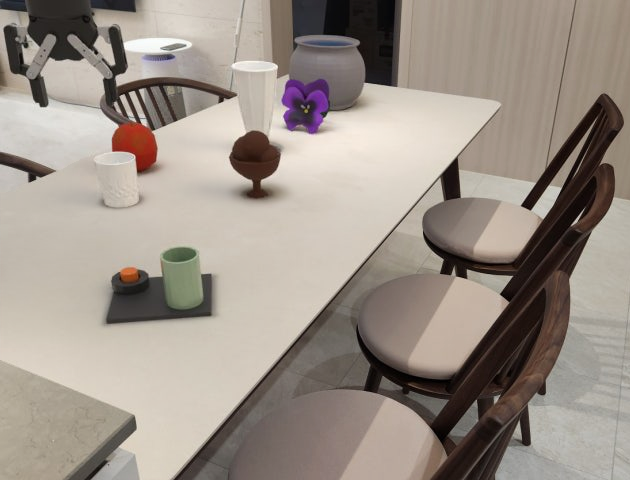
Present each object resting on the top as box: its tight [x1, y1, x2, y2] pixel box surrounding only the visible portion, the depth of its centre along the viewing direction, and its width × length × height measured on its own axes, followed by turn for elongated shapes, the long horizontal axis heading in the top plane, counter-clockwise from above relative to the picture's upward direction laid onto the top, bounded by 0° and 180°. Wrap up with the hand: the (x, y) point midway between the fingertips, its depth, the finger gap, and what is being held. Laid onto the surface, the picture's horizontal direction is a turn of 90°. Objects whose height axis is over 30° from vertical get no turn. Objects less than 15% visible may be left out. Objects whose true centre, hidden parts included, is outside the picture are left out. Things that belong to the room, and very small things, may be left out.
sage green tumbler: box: [159, 245, 204, 310], centre depth 97 cm, size 6×6×8 cm
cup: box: [230, 60, 281, 153], centre depth 160 cm, size 12×12×22 cm
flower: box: [280, 79, 330, 135], centre depth 185 cm, size 15×15×14 cm
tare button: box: [119, 266, 139, 283], centre depth 101 cm, size 3×3×2 cm
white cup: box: [93, 151, 140, 209], centre depth 130 cm, size 8×8×10 cm
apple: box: [111, 121, 158, 172], centre depth 148 cm, size 10×10×12 cm
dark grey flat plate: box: [105, 268, 213, 325], centre depth 100 cm, size 15×12×3 cm
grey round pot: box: [288, 34, 366, 111], centre depth 205 cm, size 25×25×20 cm
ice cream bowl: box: [228, 130, 282, 199], centre depth 135 cm, size 11×11×15 cm
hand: (77, 105), depth 87 cm, fingers open, 8 cm apart
